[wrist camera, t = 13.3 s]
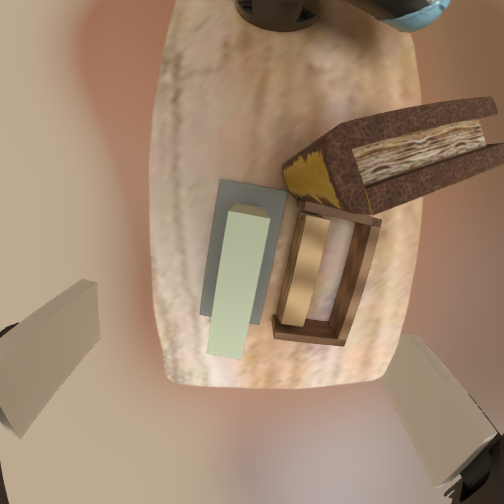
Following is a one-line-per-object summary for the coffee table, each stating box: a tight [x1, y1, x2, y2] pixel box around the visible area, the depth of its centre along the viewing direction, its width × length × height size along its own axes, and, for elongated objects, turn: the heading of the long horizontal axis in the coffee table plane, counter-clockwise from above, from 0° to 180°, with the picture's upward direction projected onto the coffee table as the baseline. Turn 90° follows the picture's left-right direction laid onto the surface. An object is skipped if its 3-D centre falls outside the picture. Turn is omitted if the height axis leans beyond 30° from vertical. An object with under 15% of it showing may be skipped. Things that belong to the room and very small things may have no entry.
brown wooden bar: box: [277, 212, 330, 327], centre depth 41 cm, size 17×4×5 cm, turn 169°
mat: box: [200, 179, 287, 325], centre depth 43 cm, size 22×10×1 cm, turn 169°
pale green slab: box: [206, 203, 270, 360], centre depth 35 cm, size 16×4×15 cm, turn 169°
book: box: [282, 97, 504, 215], centre depth 27 cm, size 22×8×25 cm, turn 111°
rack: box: [272, 199, 382, 346], centre depth 41 cm, size 20×12×6 cm, turn 169°
